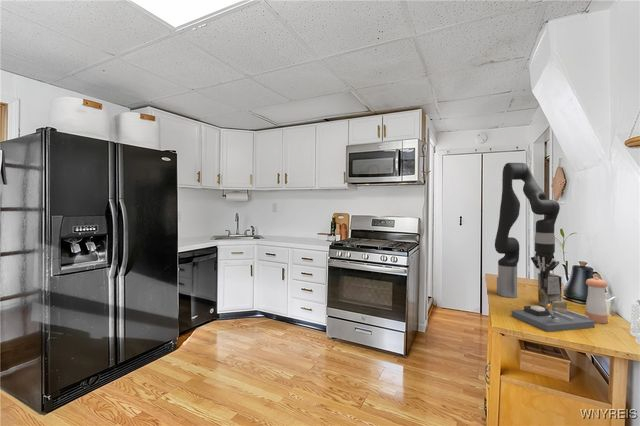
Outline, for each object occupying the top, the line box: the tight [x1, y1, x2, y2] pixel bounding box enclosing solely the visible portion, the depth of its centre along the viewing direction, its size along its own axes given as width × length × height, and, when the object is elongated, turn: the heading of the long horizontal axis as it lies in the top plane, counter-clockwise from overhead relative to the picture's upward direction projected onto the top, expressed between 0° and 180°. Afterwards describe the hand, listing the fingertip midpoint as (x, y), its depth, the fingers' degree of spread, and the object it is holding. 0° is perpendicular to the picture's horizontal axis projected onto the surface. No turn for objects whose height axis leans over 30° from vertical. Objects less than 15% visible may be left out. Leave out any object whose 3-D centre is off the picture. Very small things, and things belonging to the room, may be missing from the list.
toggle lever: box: [545, 304, 555, 319], centre depth 122 cm, size 2×2×6 cm
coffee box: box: [537, 272, 562, 308], centre depth 149 cm, size 9×6×16 cm
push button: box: [530, 305, 546, 311], centre depth 132 cm, size 5×5×2 cm
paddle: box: [552, 300, 568, 313], centre depth 132 cm, size 2×6×5 cm, turn 100°
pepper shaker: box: [584, 276, 609, 324], centre depth 129 cm, size 7×7×19 cm
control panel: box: [511, 305, 596, 333], centre depth 129 cm, size 18×23×4 cm
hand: (544, 278), depth 138 cm, fingers closed
